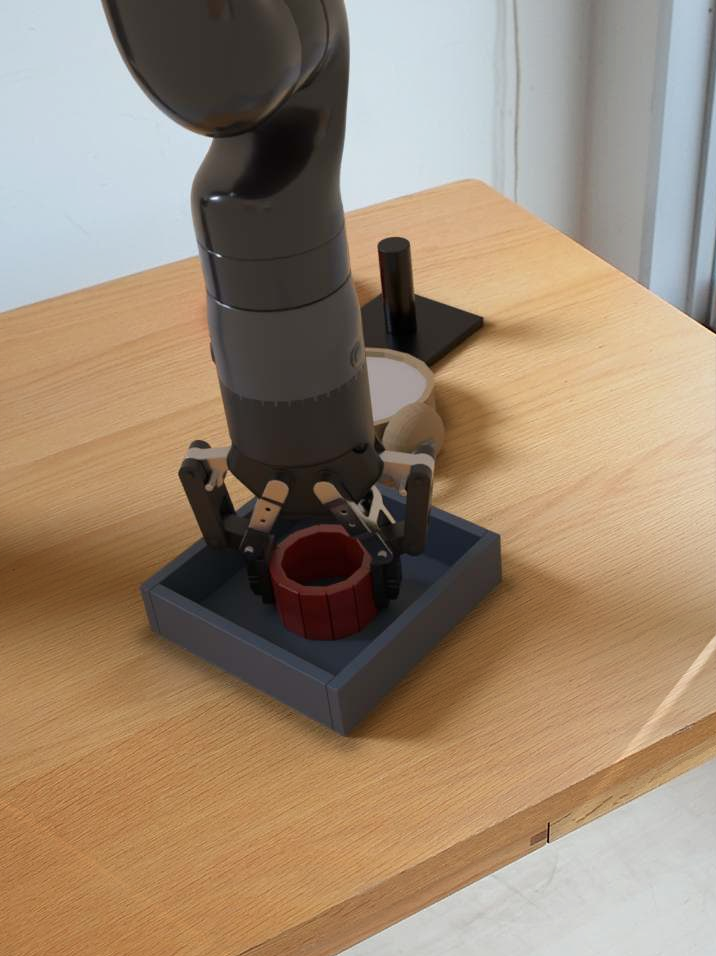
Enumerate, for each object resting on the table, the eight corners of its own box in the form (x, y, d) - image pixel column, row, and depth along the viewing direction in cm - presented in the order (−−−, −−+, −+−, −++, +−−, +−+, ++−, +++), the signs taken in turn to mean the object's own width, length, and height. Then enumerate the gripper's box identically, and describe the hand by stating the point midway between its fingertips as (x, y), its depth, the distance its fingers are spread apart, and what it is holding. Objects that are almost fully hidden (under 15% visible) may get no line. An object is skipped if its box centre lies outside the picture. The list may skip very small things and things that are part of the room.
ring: (257, 614, 77) (247, 568, 75) (324, 557, 81) (317, 511, 78) (335, 655, 74) (328, 609, 72) (401, 593, 78) (396, 547, 76)
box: (152, 637, 77) (138, 585, 74) (318, 503, 86) (310, 452, 83) (346, 744, 70) (337, 691, 67) (503, 586, 79) (500, 534, 76)
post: (319, 348, 100) (306, 254, 95) (392, 296, 106) (384, 205, 101) (412, 383, 96) (404, 287, 91) (484, 328, 102) (480, 234, 97)
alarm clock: (415, 335, 96) (462, 418, 83) (422, 397, 98) (469, 487, 85) (260, 361, 94) (284, 450, 81) (271, 424, 96) (296, 520, 83)
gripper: (441, 317, 69) (457, 558, 79) (171, 312, 70) (223, 550, 81) (422, 399, 63) (443, 647, 74) (129, 393, 64) (191, 638, 75)
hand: (328, 595), depth 77 cm, fingers closed on ring, 6 cm apart
